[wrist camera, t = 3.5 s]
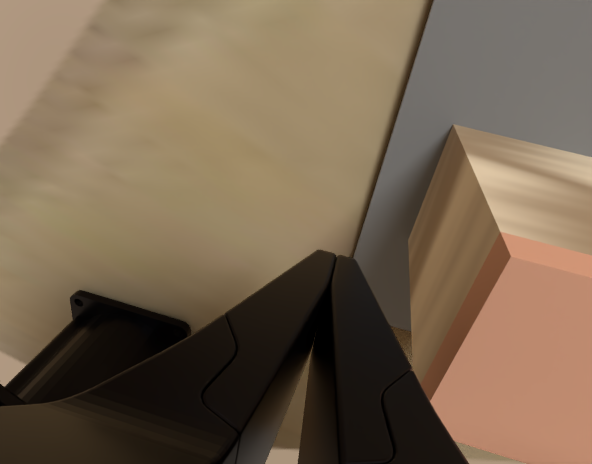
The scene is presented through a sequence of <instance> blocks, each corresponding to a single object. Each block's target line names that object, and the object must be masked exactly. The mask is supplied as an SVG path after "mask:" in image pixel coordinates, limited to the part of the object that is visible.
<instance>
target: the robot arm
mask: <svg viewBox="0 0 592 464" xmlns="http://www.w3.org/2000/svg"><path fill="white" fill-rule="evenodd" d="M70 303H71V310H72V317H73V321H72V322H71V323H70V324H68V325H67V326H66V327H65V328H64V329H63V330H62V331H61V332H60V333H59V334H58V335H57V336H56V337H55V338H54V339H53V340H52V341H51V342H50V343H49V344H48V345H47V346H46V347H45V348H44V349H43V350H42V351H41V352H40V353H39V354H38V355H37V356H36V357H35V358H34V359H33V360H31V361H30V362H29V363H28V364H27V365H26V366H25V367H24V368H23V369H22V370H21V371H20V372H19V373H18V374H17V375H16V376H15V377H14V378H13V379H12V380H11V381H10V382H9V383H8V384H7V385H6V386H5V387H4V386H2V385H1V384H0V464H265V462H266V460H267V457H268V455H269V452H270V450H271V448H272V445H273V443H274V440H275V438H276V436H277V433H278V431H279V428H280V426H281V423H282V421H283V419H284V416H285V414H286V411H287V409H288V406H289V404H290V402H291V399H292V397H293V394H294V392H295V389H296V387H297V385H298V382H299V380H300V377H301V375H302V372H303V370H304V368H305V365H306V363H307V360H308V358H309V355H310V352H311V349H312V353H311V359H310V366H309V375H308V383H307V391H306V400H305V408H304V416H303V425H302V433H301V441H300V450H299V458H298V464H469V463H468V461H467V460H466V458H465V457H464V455H463V454H462V452H461V451H460V449H459V448H458V446H457V445H456V443H455V442H454V440H453V438H452V437H451V435H450V434H449V432H448V430H447V429H446V427H445V426H444V424H443V422H442V421H441V419H440V418H439V416H438V414H437V413H436V411H435V409H434V408H433V406H432V404H431V402H430V400H429V399H428V397H427V395H426V393H425V391H424V390H423V388H422V386H421V384H420V382H419V380H418V378H417V376H416V374H415V372H414V371H412V367H411V365H410V363H409V361H408V359H407V357H406V355H405V353H404V352H403V350H402V348H401V346H400V344H399V342H398V340H397V338H396V336H395V334H394V332H393V330H392V328H391V326H390V324H389V322H388V321H387V319H386V317H385V315H384V313H383V311H382V309H381V307H380V305H379V303H378V301H377V299H376V297H375V295H374V293H373V292H372V290H371V288H370V286H369V284H368V282H367V280H366V278H365V276H364V274H363V272H362V270H361V268H360V266H359V264H358V263H357V261H356V260H355V259H353V258H349V257H346V256H342V255H338V256H337V257H336V255H335V254H334V253H331V252H327V251H324V250H317V251H315V252H314V253H312V254H311V255H309V256H308V257H306V258H305V259H303V260H302V261H300V262H299V263H298V264H296V265H295V266H293V267H292V268H290V269H289V270H287V271H286V272H284V273H283V274H281V275H280V276H279V277H277V278H276V279H274V280H273V281H271V282H270V283H268V284H267V285H265V286H264V287H262V288H261V289H259V290H258V291H257V292H255V293H254V294H252V295H251V296H249V297H248V298H246V299H245V300H243V301H242V302H240V303H239V304H238V305H236V306H235V307H233V308H232V309H230V310H229V311H227V312H226V313H225V314H224V315H221V316H220V317H218V318H217V319H215V320H214V321H212V322H211V323H209V324H208V325H206V326H205V327H203V328H202V329H200V330H198V331H197V332H195V333H194V334H192V335H191V329H190V327H189V325H188V324H187V323H186V322H183V321H181V320H178V319H174V318H171V317H168V316H165V315H161V314H158V313H155V312H151V311H148V310H145V309H142V308H138V307H135V306H132V305H128V304H125V303H122V302H119V301H115V300H112V299H109V298H105V297H102V296H99V295H96V294H92V293H89V292H86V291H82V290H79V291H77V292H75V293H74V294H73V295H72V296H71V297H70ZM316 331H317V332H316ZM190 335H191V336H190ZM315 335H316V336H315ZM313 342H314V343H313ZM312 346H313V348H312Z"/></svg>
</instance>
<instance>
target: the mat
mask: <svg viewBox="0 0 592 464" xmlns="http://www.w3.org/2000/svg"><path fill="white" fill-rule="evenodd" d="M453 124H455V125H459V126H463V127H467V128H471V129H475V130H480V131H484V132H488V133H492V134H496V135H500V136H505V137H509V138H513V139H517V140H521V141H526V142H530V143H534V144H538V145H542V146H546V147H551V148H555V149H559V150H563V151H567V152H572V153H576V154H580V155H584V156H588V157H592V0H433V2H432V5H431V8H430V11H429V15H428V18H427V21H426V24H425V28H424V31H423V34H422V37H421V40H420V44H419V47H418V50H417V53H416V56H415V60H414V63H413V66H412V69H411V72H410V76H409V79H408V82H407V85H406V89H405V92H404V95H403V98H402V101H401V105H400V108H399V111H398V114H397V117H396V121H395V124H394V127H393V130H392V134H391V137H390V140H389V143H388V146H387V150H386V153H385V156H384V159H383V162H382V166H381V169H380V172H379V175H378V178H377V182H376V185H375V188H374V191H373V195H372V198H371V201H370V204H369V207H368V211H367V214H366V217H365V220H364V223H363V227H362V230H361V233H360V236H359V240H358V243H357V246H356V249H355V252H354V256H353V259H355V260H356V261H357V263H358V264H359V266H360V268H361V270H362V272H363V274H364V276H365V278H366V280H367V282H368V284H369V286H370V288H371V290H372V292H373V293H374V295H375V297H376V299H377V301H378V303H379V305H380V307H381V309H382V311H383V313H384V315H385V317H386V319H387V321H388V322H389V324H390V326H393V327H396V328H400V329H403V330H407V331H410V332H411V305H410V277H409V249H408V239H409V237H410V234H411V232H412V229H413V227H414V224H415V221H416V219H417V216H418V214H419V211H420V208H421V206H422V203H423V201H424V198H425V196H426V193H427V190H428V188H429V185H430V183H431V180H432V178H433V175H434V172H435V170H436V167H437V165H438V162H439V159H440V157H441V154H442V152H443V149H444V147H445V144H446V141H447V139H448V136H449V134H450V131H451V129H452V126H453Z"/></svg>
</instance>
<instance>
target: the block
mask: <svg viewBox="0 0 592 464" xmlns="http://www.w3.org/2000/svg"><path fill="white" fill-rule="evenodd" d="M408 249H409V277H410V305H411V333H412V362H413V371H414V372H415V374H416V376H417V378H418V380H419V382H420V384H421V386H422V388H423V390H424V391H425V393H426V395H427V397H428V399H429V400H430V402H431V404H432V406H433V408H434V409H435V411H436V413H437V414H438V416H439V418H440V419H441V421H442V422H443V424H444V426H445V427H446V429H447V430H448V432H449V434H450V435H451V437H452V438H453V440H454V441H456V442H459V443H463V444H466V445H469V446H472V447H475V448H479V449H482V450H485V451H488V452H491V453H495V454H498V455H501V456H504V457H507V458H510V459H514V460H517V461H520V462H523V463H526V464H592V157H588V156H584V155H580V154H576V153H572V152H567V151H563V150H559V149H555V148H551V147H546V146H542V145H538V144H534V143H530V142H526V141H521V140H517V139H513V138H509V137H505V136H500V135H496V134H492V133H488V132H484V131H480V130H475V129H471V128H467V127H463V126H459V125H455V124H453V126H452V129H451V131H450V134H449V136H448V139H447V141H446V144H445V147H444V149H443V152H442V154H441V157H440V159H439V162H438V165H437V167H436V170H435V172H434V175H433V178H432V180H431V183H430V185H429V188H428V190H427V193H426V196H425V198H424V201H423V203H422V206H421V208H420V211H419V214H418V216H417V219H416V221H415V224H414V227H413V229H412V232H411V234H410V237H409V239H408Z"/></svg>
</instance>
